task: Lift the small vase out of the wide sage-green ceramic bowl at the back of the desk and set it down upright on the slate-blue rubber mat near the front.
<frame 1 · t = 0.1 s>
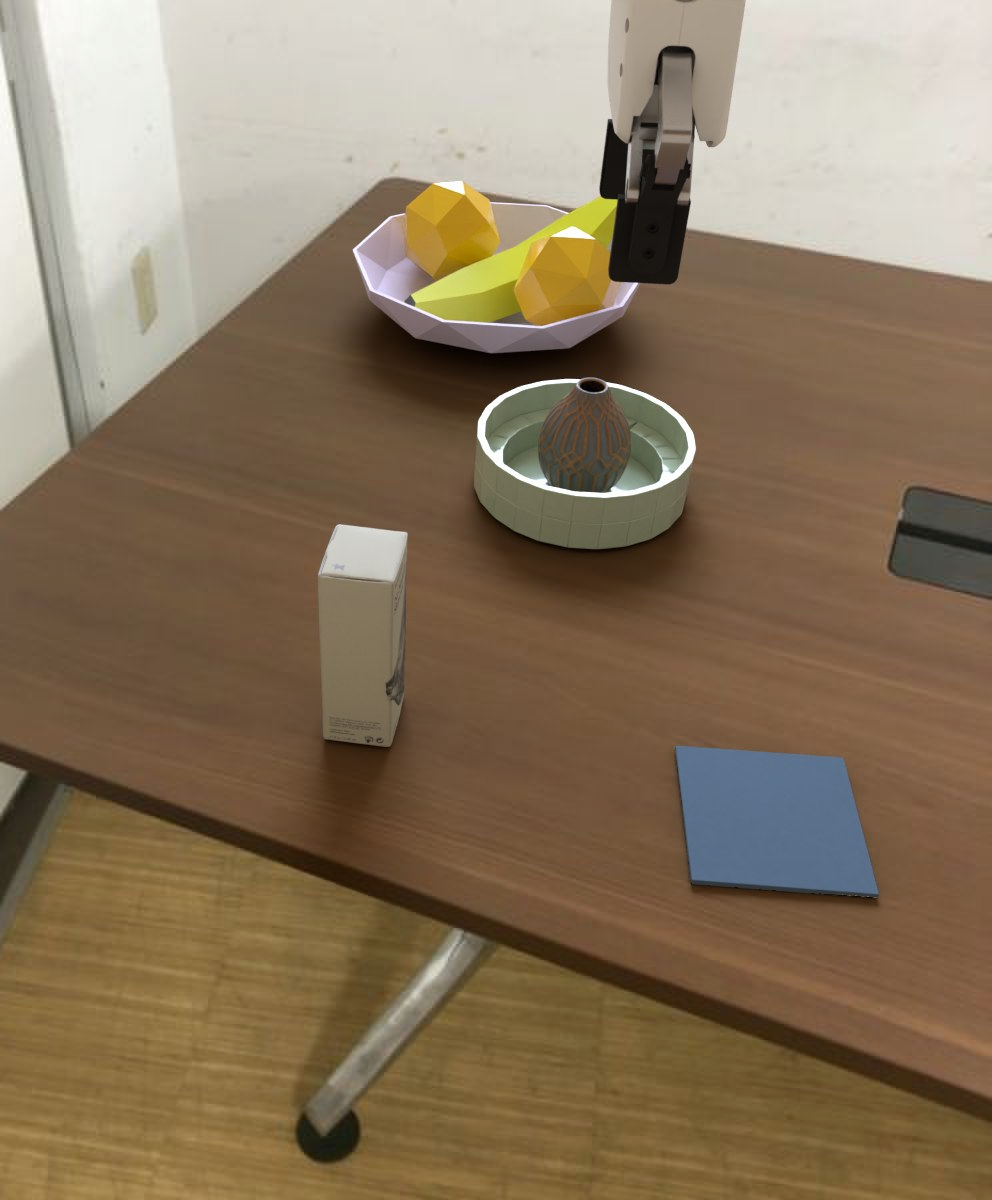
hand: (634, 236, 62), 29 cm above the table, tool pointing down, fingers open, 9 cm apart
vase: (578, 486, 96), resting on bowl
bowl: (578, 489, 96), on the table
fruit bowl: (506, 317, 118), on the table
box: (364, 718, 77), on the table
mat: (770, 820, 71), on the table
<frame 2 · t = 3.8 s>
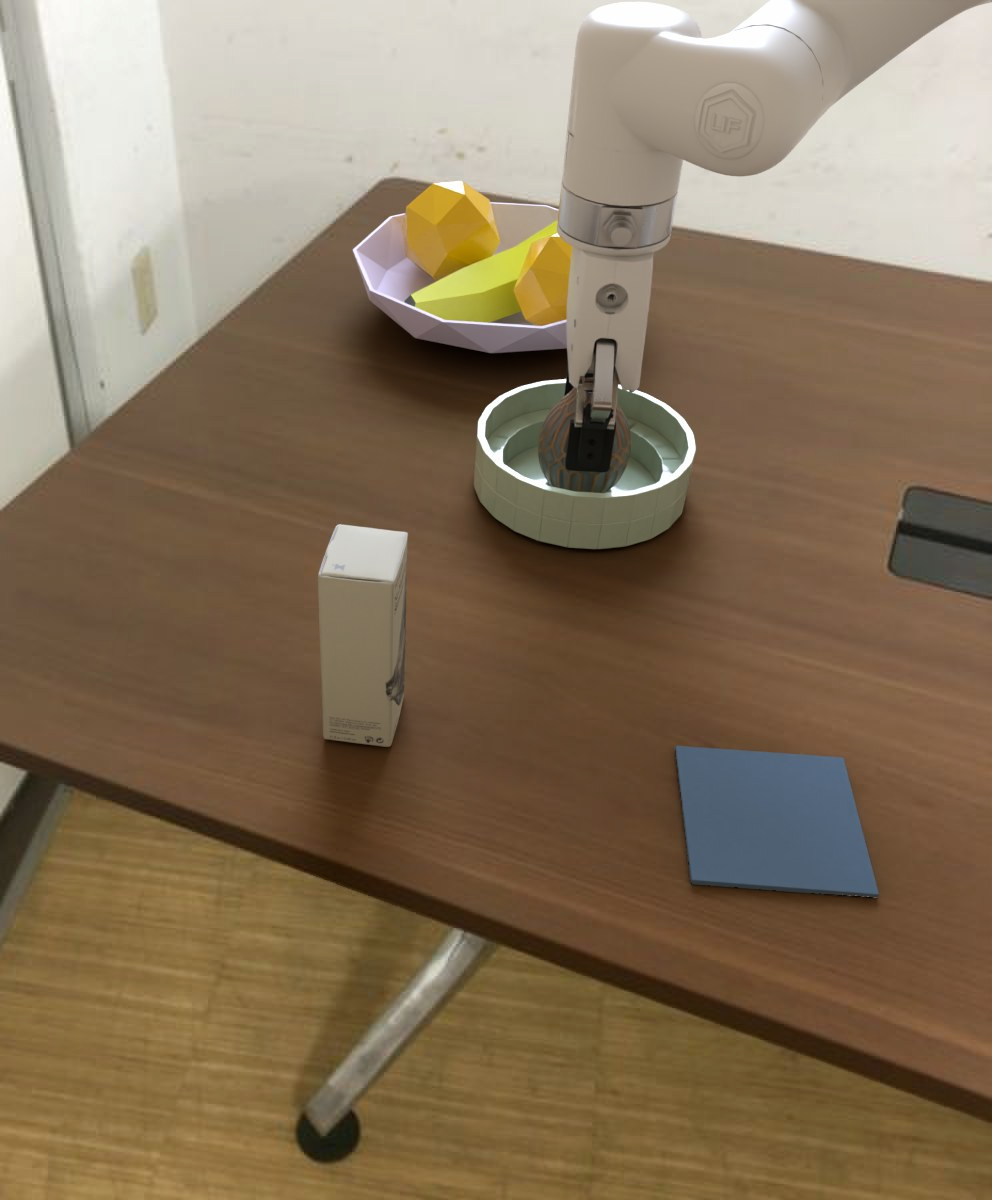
hand: (585, 438, 93), 5 cm above the table, tool pointing down, fingers closed on vase, 6 cm apart
vase: (578, 486, 96), resting on bowl, touching gripper
everything else where it was.
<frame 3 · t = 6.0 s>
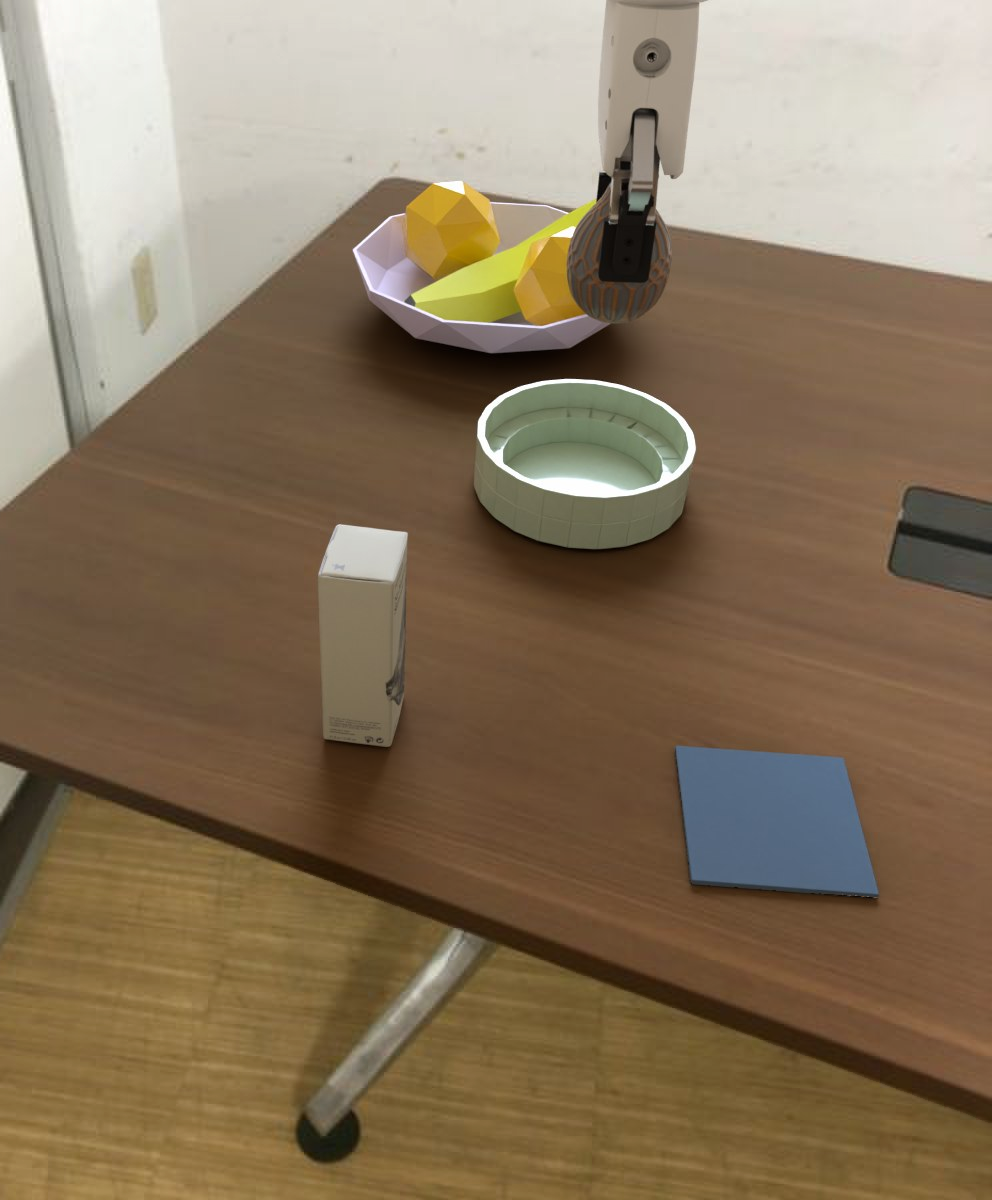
hand: (619, 252, 83), 20 cm above the table, tool pointing down, fingers closed on vase, 6 cm apart
vase: (612, 313, 86), point 15 cm above the table, touching gripper
everything else where it was.
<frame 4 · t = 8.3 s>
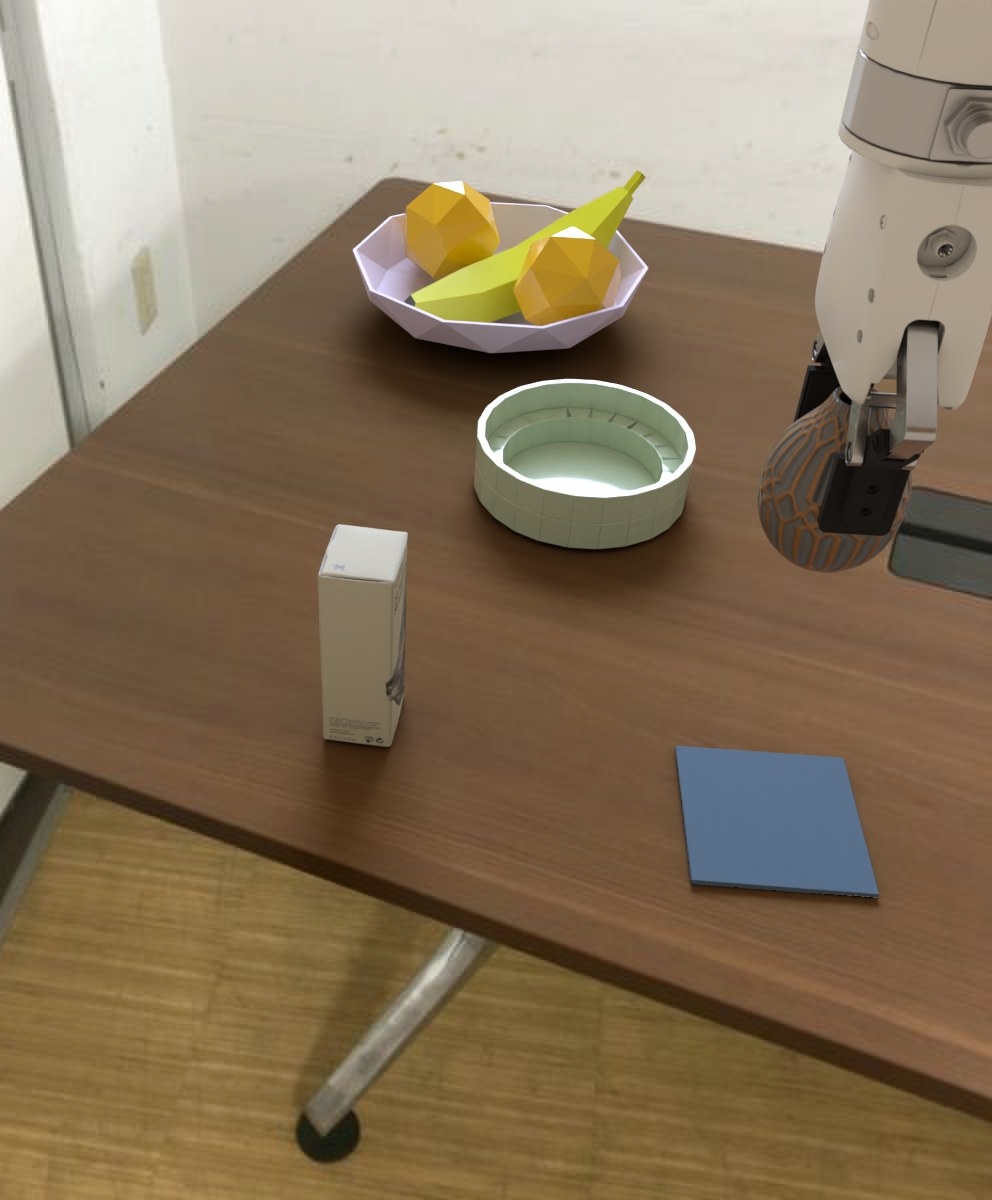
hand: (837, 480, 60), 21 cm above the table, tool pointing down, fingers closed on vase, 6 cm apart
vase: (815, 551, 63), point 17 cm above the table, touching gripper
everything else where it was.
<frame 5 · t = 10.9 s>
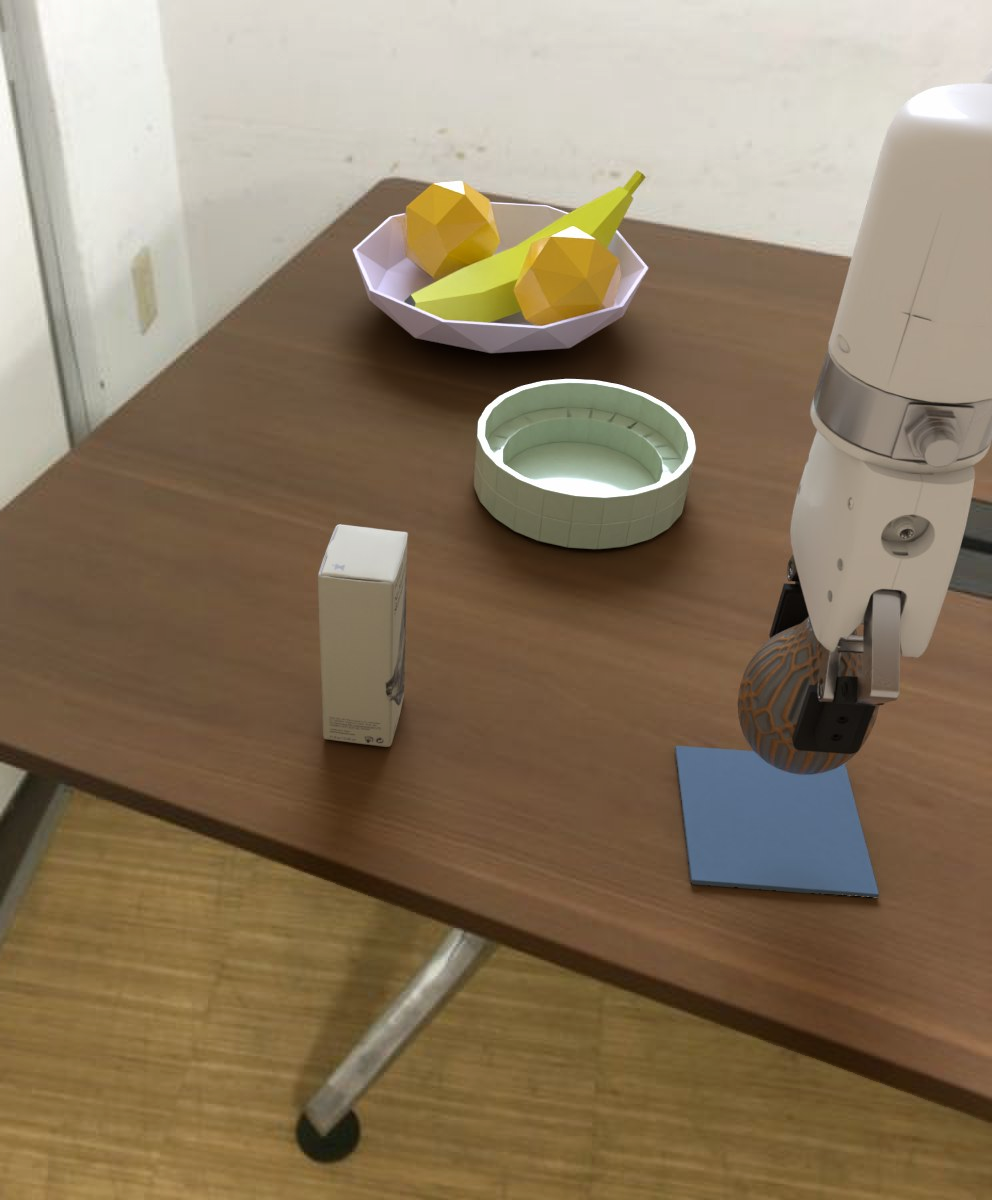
hand: (811, 692, 65), 10 cm above the table, tool pointing down, fingers closed on vase, 6 cm apart
vase: (791, 749, 67), point 6 cm above the table, touching gripper
everything else where it was.
when the fingers open (5 cm above the table, at t = 12.9 s): vase stays where it is, resting on mat.
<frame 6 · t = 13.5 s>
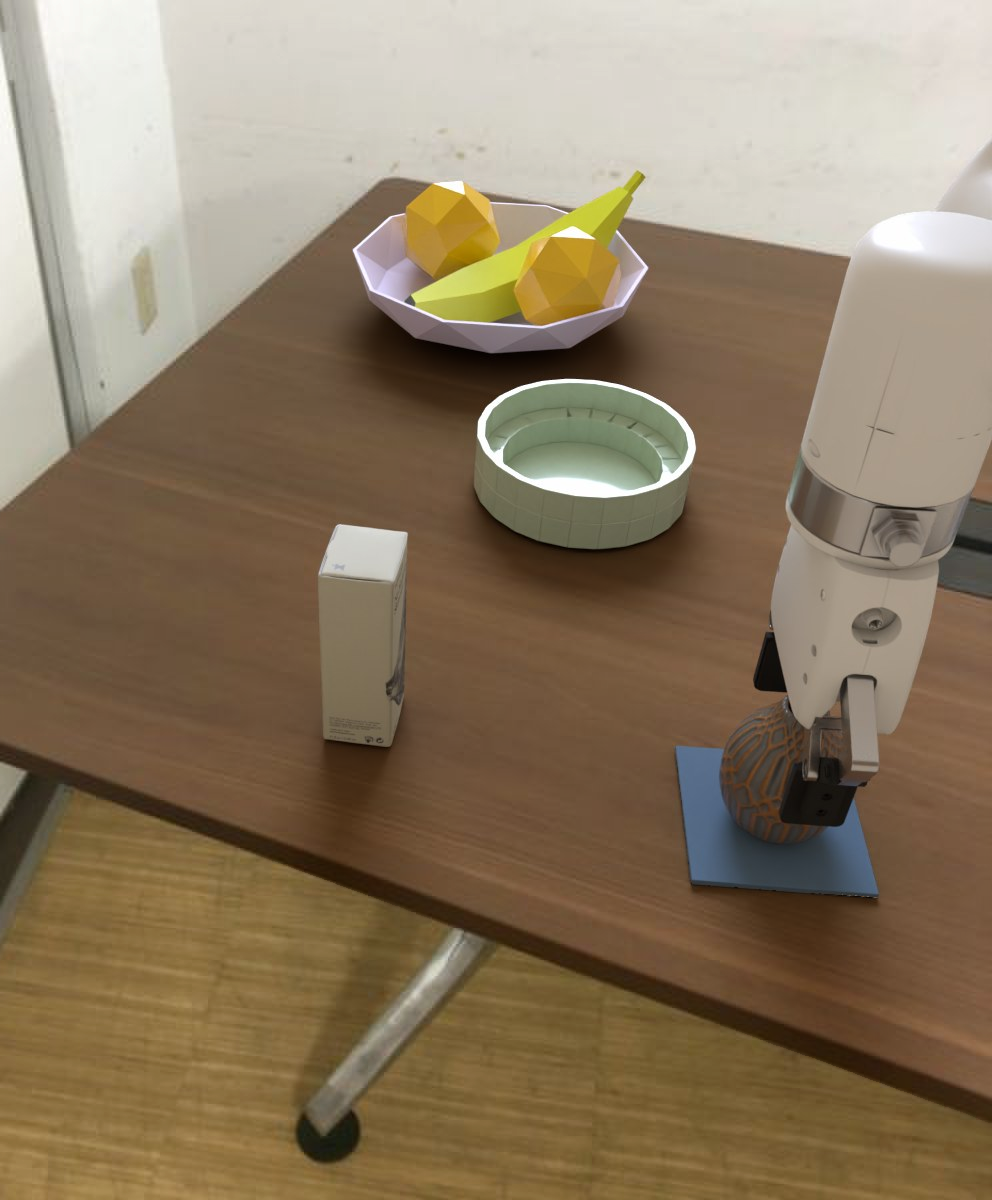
hand: (794, 751, 68), 6 cm above the table, tool pointing down, fingers open, 9 cm apart
vase: (770, 817, 71), resting on mat
everything else where it was.
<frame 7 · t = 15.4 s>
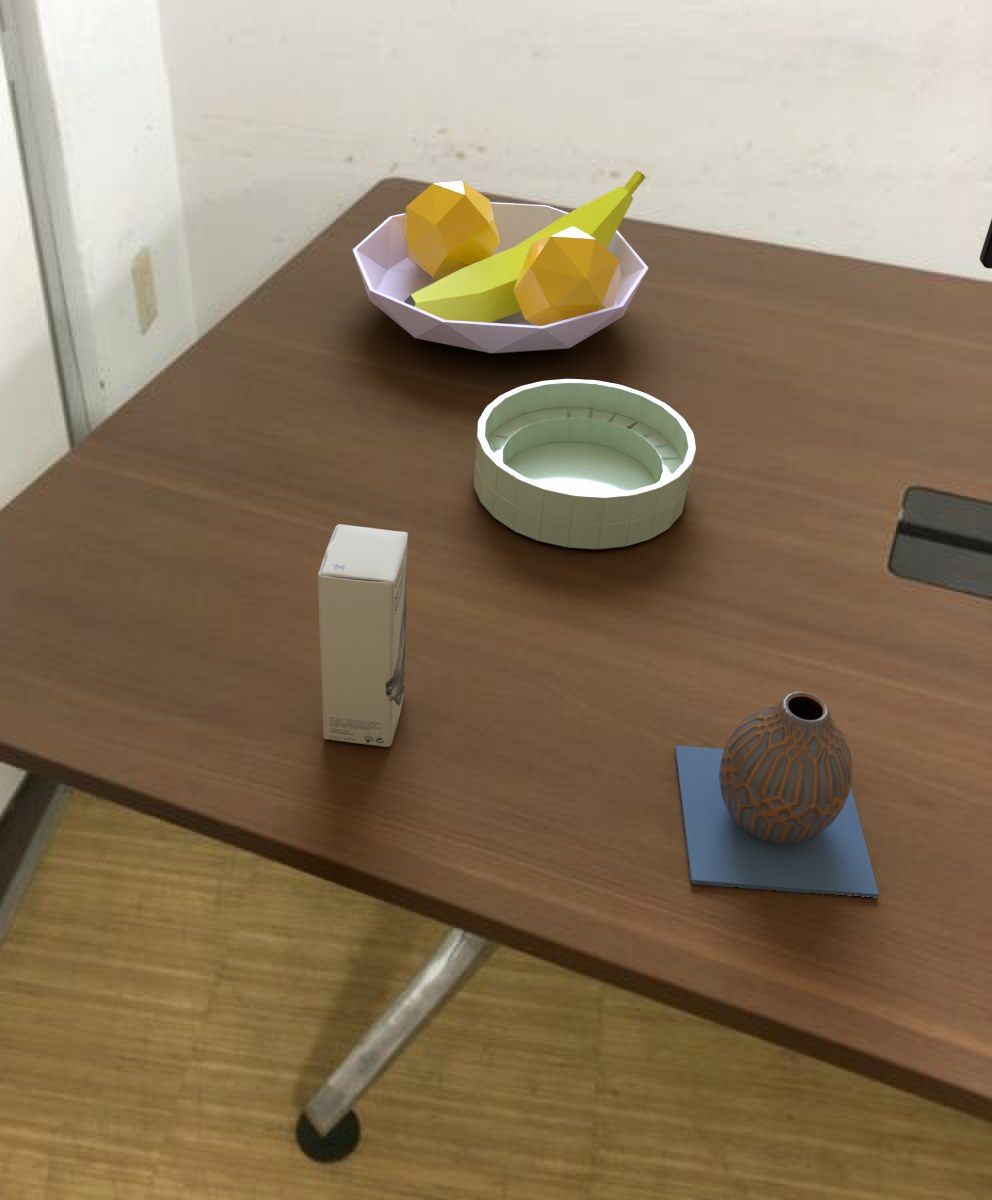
nothing on the table moved.
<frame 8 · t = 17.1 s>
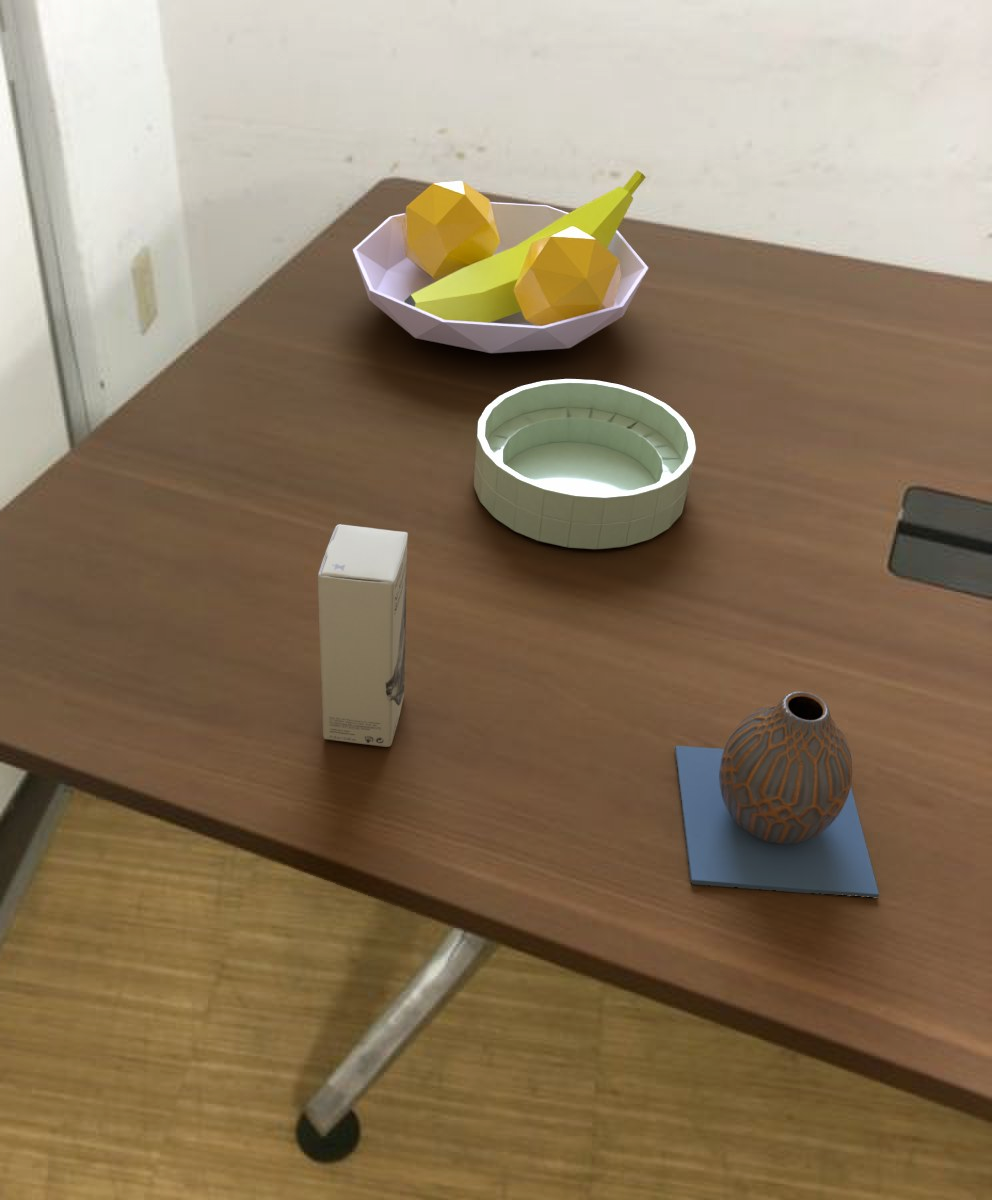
nothing on the table moved.
at the end: vase inside the target area on the mat (0.0 cm from its centre), point 0.2 cm above the mat's base; vase tilted 0°; vase touching mat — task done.
